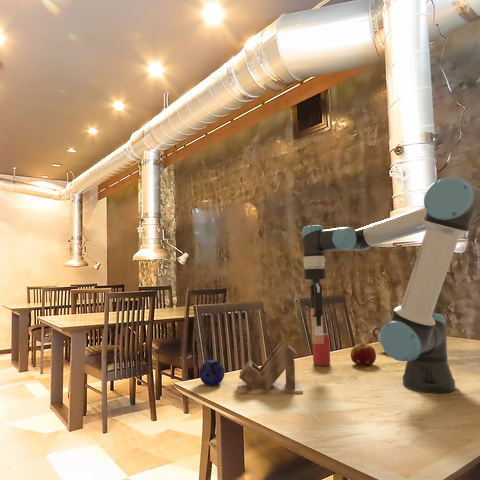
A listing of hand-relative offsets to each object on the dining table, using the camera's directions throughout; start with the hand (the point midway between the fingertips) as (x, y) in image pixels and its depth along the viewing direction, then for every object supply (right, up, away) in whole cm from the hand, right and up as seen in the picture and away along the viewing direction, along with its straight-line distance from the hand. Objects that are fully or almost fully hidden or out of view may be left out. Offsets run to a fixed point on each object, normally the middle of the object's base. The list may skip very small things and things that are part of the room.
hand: (317, 334), depth 143 cm
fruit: (+21, -16, +14) cm, 30 cm away
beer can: (+5, -16, +16) cm, 23 cm away
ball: (-37, -15, -9) cm, 41 cm away
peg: (0, -3, 0) cm, 3 cm away
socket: (-18, -16, -15) cm, 28 cm away
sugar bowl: (+42, -17, +38) cm, 59 cm away
